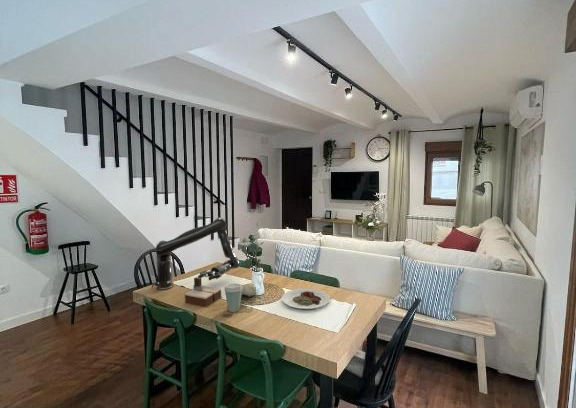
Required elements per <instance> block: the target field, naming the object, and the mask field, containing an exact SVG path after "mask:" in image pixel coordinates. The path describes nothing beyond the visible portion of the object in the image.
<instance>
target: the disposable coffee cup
mask: <svg viewBox="0 0 576 408" xmlns="http://www.w3.org/2000/svg"><path fill="white" fill-rule="evenodd" d="M223 289H224V293H225V294H224V295H225V297H226V298H225V299H226V305H227V310H228V312H229V313H235V312H238V311H239V310H240V308H241V300H242V295H241V294H242V290H243V289H244V287H243V285H242V284H240V283H229V284H226V286H224V288H223Z"/></svg>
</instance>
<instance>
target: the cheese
mask: <svg viewBox="0 0 576 408" xmlns="http://www.w3.org/2000/svg"><path fill="white" fill-rule="evenodd" d="M253 283H254V282H250V283H247V284H246V285H244V287H243V289H242V294H241V296H246V297H249V298H250V297H254V296H255V295H256V294H257V293H256V287H255V286H254V284H253ZM255 293H256V294H255ZM253 294H254V295H253Z"/></svg>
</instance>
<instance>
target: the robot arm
mask: <svg viewBox="0 0 576 408" xmlns="http://www.w3.org/2000/svg"><path fill="white" fill-rule="evenodd" d="M214 234H217V236H218V238H219V241H220V245H221V248H222V249H221V250H222V252H223V256H224V257H225V258H227V260H225V261H224V262H222V263H220V264H217V265H214V266H213V267H212V268H210V270H208V271H207V270H203V271H201V272H199V275H198V276H197V277H198V278H201V279H202V278H208V281H212V280H218V279H220V278H222V276H223V275H225V274H226V273H228V272H229V271H230V270H233V269H234V270H235V269H238V268H239V267H240V261H239V259H238V257H237V255H236V254H235V251H234V249H233V246H232V244H231V241H230V238H229V236H228V233H227V221H226V220H225V219H224V218H223V217H216V218H215V219H214V220H213V221H212V222H210V223H208V224H206V225H202V226H198V227H194V228H192V229H189V230H187V231H185V232H183V233H181V234H179V235H178V236H176V237H175V238H173V239H170V240H160V241H158V242H157V244H156V246H155V253H156V271H157V274H156V276H155V277H156V281H155V282H154V283H152V285H151V288H153V287H156V289H158V290H164V291H165V290H169V289H171V288H173V276H172V275H173V274H172V272H173V271H172V255H171V254H172V252H174V251H176V250H177V249H180V248H182V247H186V246H189V245H191V244H193V243H196V242H198V241H200V240H202V239H204V238H206V237H208V236H210V235H214Z"/></svg>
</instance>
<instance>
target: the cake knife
mask: <svg viewBox="0 0 576 408" xmlns="http://www.w3.org/2000/svg"><path fill="white" fill-rule="evenodd" d="M192 286H193V290H197V291H202V292H203V286H204V285H202V278H198V276H196V277H193V285H192Z"/></svg>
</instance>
